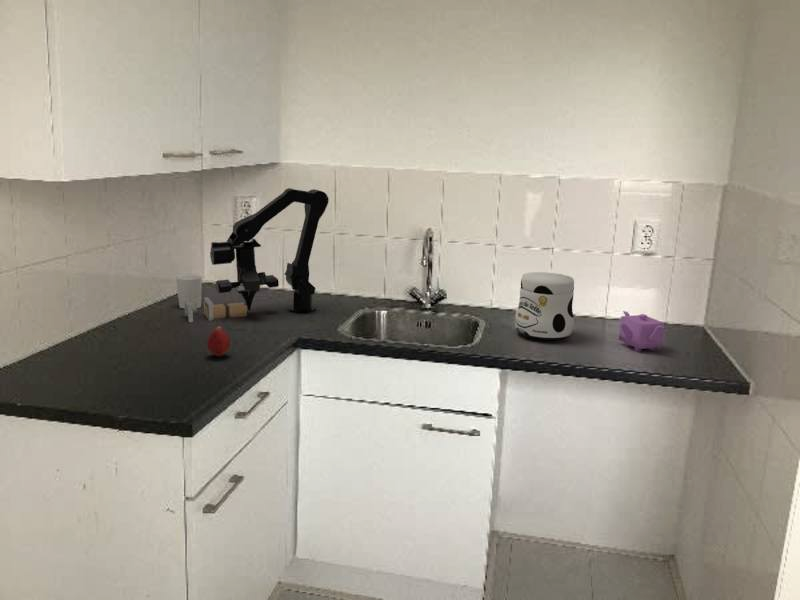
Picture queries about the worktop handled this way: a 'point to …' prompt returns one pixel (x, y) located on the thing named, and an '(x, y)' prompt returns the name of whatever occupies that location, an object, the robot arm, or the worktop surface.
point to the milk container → (545, 306)
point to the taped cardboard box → (227, 310)
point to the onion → (218, 342)
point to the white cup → (189, 289)
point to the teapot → (641, 332)
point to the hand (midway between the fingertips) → (248, 310)
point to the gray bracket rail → (190, 308)
